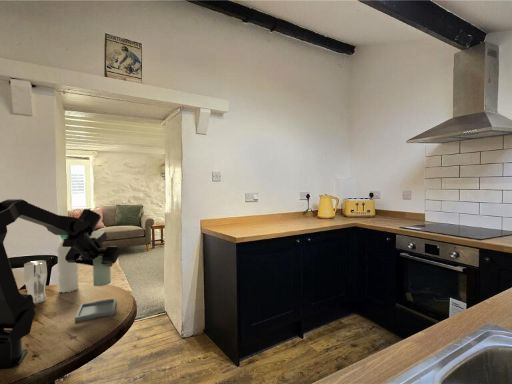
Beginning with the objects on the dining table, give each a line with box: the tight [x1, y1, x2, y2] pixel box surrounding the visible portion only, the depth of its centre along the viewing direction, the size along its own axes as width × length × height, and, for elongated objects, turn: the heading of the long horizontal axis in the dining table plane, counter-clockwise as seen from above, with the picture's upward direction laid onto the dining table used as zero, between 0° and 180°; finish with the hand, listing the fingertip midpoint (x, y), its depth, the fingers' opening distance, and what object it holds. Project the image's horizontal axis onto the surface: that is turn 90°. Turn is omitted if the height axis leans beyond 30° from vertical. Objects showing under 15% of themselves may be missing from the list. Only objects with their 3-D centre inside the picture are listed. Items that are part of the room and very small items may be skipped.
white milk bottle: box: [56, 235, 79, 294], centre depth 117 cm, size 7×7×25 cm
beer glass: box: [23, 259, 48, 305], centre depth 106 cm, size 7×7×15 cm
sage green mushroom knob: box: [92, 256, 112, 287], centre depth 105 cm, size 7×7×12 cm
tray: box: [74, 297, 117, 323], centre depth 97 cm, size 11×11×2 cm
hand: (104, 265), depth 107 cm, fingers closed on sage green mushroom knob, 6 cm apart
